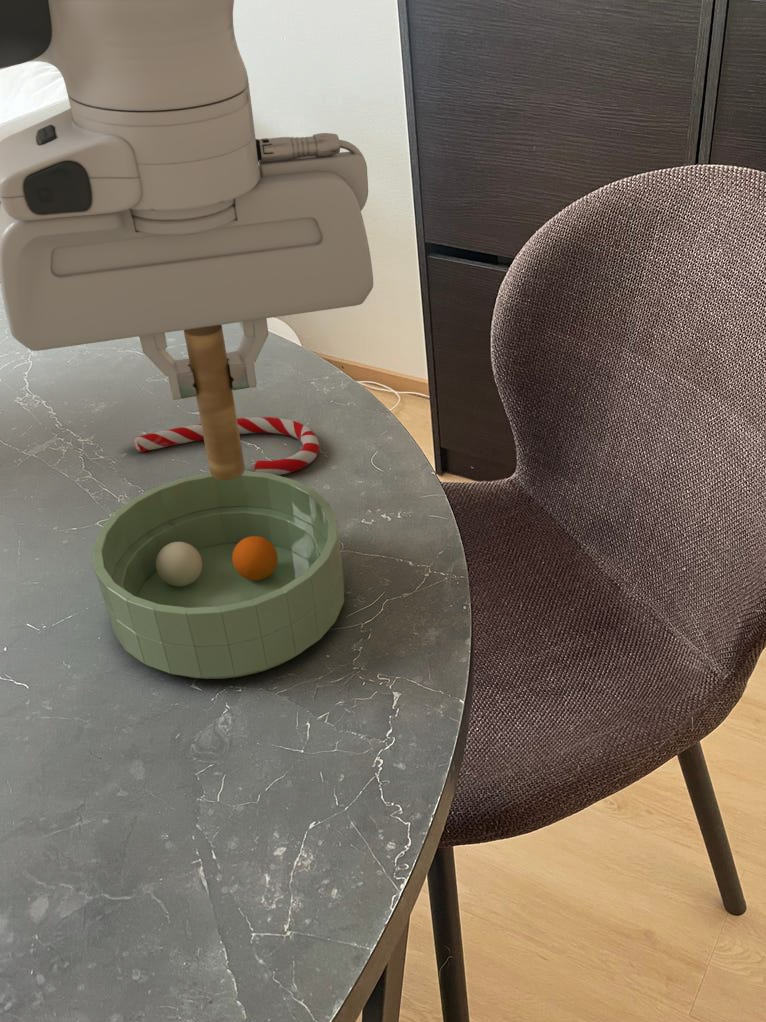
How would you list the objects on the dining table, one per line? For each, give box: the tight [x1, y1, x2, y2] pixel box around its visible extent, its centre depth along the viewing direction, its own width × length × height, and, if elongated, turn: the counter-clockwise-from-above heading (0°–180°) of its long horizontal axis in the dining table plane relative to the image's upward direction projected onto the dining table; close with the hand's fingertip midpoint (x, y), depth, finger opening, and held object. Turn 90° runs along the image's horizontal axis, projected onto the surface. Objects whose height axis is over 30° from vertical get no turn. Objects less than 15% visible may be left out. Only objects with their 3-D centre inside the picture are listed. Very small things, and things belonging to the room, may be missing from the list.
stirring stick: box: [183, 325, 246, 480], centre depth 64 cm, size 2×2×10 cm
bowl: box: [91, 470, 345, 680], centre depth 68 cm, size 15×15×6 cm
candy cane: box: [133, 416, 320, 476], centre depth 84 cm, size 8×1×15 cm
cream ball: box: [156, 542, 202, 586], centre depth 70 cm, size 3×3×3 cm
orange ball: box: [232, 536, 278, 580], centre depth 70 cm, size 3×3×3 cm
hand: (213, 389), depth 63 cm, fingers closed on stirring stick, 2 cm apart
